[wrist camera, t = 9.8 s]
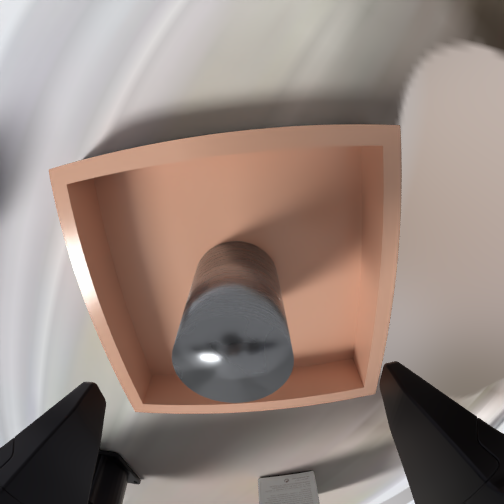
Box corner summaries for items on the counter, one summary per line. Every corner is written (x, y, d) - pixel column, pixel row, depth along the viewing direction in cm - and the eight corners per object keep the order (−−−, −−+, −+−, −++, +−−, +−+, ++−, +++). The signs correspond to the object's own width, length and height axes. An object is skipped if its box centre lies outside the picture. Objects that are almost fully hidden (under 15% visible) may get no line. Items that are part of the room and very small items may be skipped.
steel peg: (279, 309, 16) (294, 397, 10) (203, 316, 16) (187, 404, 11) (274, 236, 14) (292, 309, 9) (189, 245, 15) (158, 319, 9)
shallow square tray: (361, 360, 18) (375, 393, 15) (146, 378, 19) (135, 411, 16) (371, 124, 13) (400, 125, 10) (81, 159, 13) (48, 169, 10)
